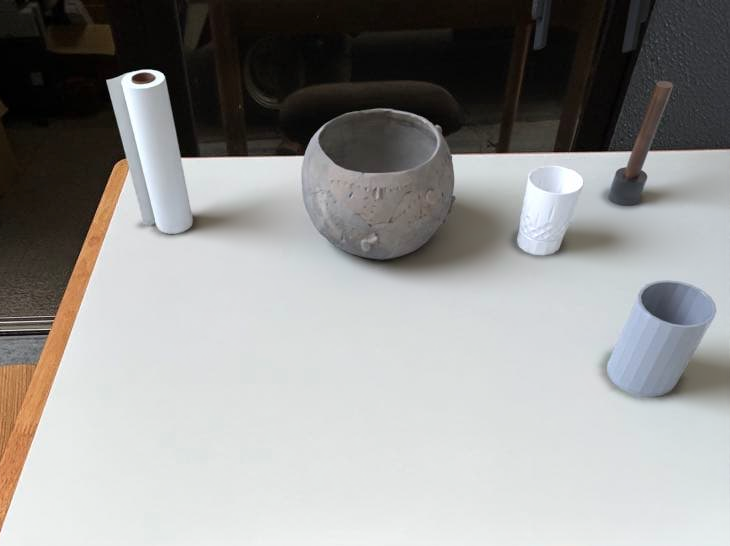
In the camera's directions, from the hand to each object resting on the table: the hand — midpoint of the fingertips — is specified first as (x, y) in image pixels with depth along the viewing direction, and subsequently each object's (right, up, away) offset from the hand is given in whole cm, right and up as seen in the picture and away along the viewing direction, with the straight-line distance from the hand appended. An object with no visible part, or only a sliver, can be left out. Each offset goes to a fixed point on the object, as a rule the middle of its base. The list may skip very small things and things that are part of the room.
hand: (584, 49), depth 94 cm
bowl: (-30, -22, +11) cm, 38 cm away
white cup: (-4, -24, +9) cm, 26 cm away
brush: (+13, -14, +15) cm, 24 cm away
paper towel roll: (-63, -19, +14) cm, 67 cm away
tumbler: (+4, -49, -8) cm, 50 cm away
